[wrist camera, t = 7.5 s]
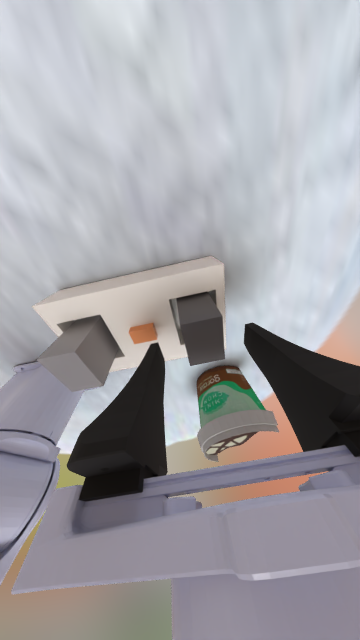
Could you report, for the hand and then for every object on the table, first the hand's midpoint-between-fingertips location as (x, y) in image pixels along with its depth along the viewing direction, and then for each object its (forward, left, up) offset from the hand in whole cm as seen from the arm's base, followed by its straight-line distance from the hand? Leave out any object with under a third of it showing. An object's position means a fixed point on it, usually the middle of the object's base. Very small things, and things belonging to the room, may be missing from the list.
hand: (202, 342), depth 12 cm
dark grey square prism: (0, +1, -6) cm, 6 cm away
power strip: (-5, 0, -7) cm, 9 cm away
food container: (+1, -16, -8) cm, 18 cm away
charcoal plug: (-11, 0, -6) cm, 13 cm away
